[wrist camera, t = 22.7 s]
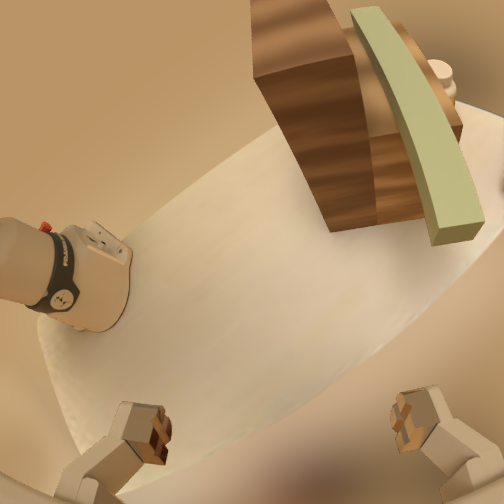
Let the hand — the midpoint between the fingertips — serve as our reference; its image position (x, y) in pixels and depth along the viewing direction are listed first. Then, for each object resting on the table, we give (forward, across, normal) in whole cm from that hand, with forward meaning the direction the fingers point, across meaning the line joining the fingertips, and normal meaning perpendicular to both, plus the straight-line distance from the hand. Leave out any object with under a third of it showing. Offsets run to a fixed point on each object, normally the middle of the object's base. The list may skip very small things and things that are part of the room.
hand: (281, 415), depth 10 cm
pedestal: (+34, -14, 0) cm, 36 cm away
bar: (+18, -12, -9) cm, 24 cm away
